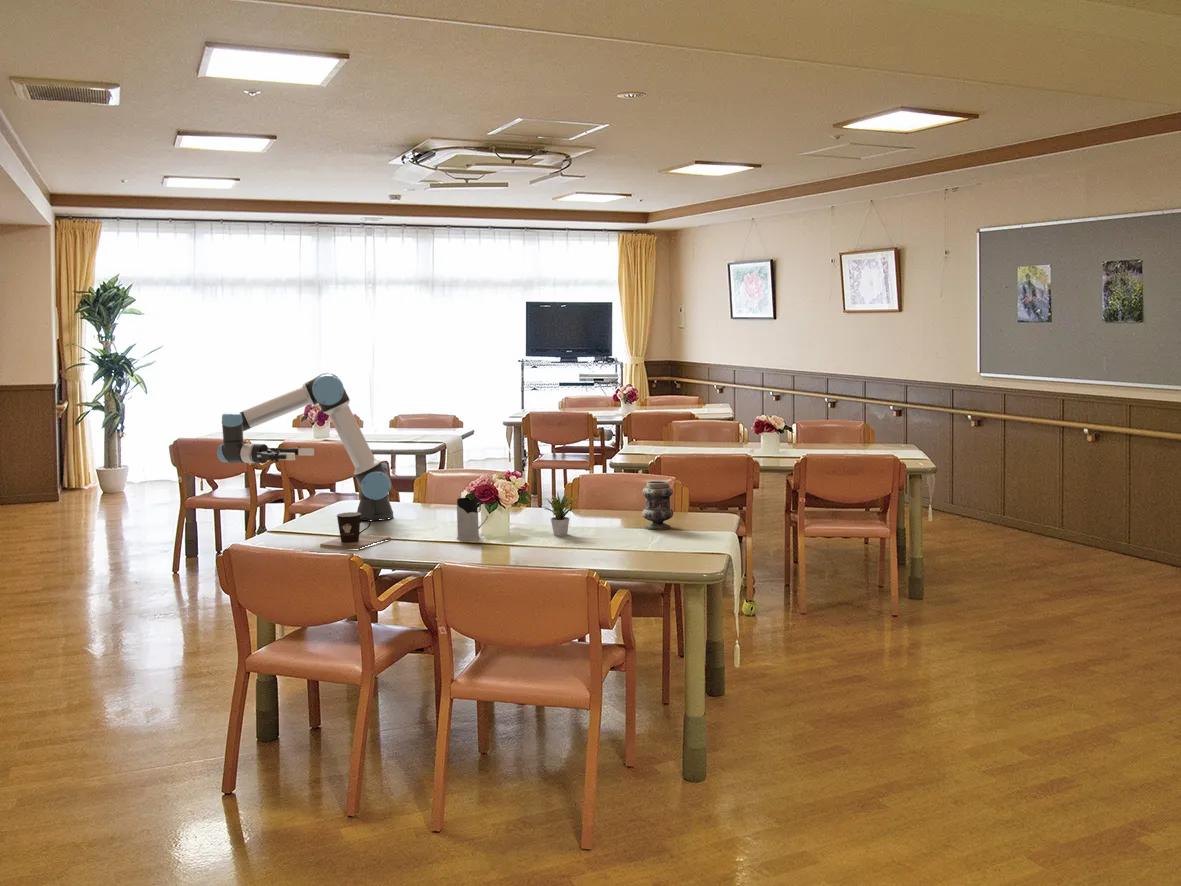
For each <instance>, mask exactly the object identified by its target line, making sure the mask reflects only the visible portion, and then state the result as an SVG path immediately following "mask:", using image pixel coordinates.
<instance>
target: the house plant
mask: <svg viewBox="0 0 1181 886" xmlns="http://www.w3.org/2000/svg"><path fill="white" fill-rule="evenodd" d="M551 497H552V498H550V500H551V501H550V500H549V499H548V498H546V500H547V501H548V503H549V504H550V505H551V507H552V509H550V508H547V507H545V508H544V510H545V511H546V510H547V511H550V512H552V514H553V517H551V518H550V522H551V527H552V528H551V529H552V532H553V535H554V536H556V537H562V536H563V537H564V536H567V535H568V531H569V525H570V517H568V516H567V514H569V512H572V513H573V514H575V513H574V510H575V509H574V506H572V507H570V508H569V506H570V505H572V504H576V503H577V501H574V500H575V499H577V498H578V496H576V497H573V498H569V497H570V494H568V495H567V492H565V494H564V495H563V497H562V498H560V495H559V492H556V497H555V496H554V495H553V494H551ZM573 501H574V502H573ZM576 507H578V506H576V505H575V508H576Z"/></svg>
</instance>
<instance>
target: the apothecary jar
mask: <svg viewBox="0 0 1181 886" xmlns="http://www.w3.org/2000/svg"><path fill="white" fill-rule="evenodd" d="M673 493H674V492H673V489H672V488H671V487H670V484H669V481H668V480H667V481H666V480H648V481H646V485H645V487H643V489H642V492H641V494H642V496H644V497H645V503H644V505H645V508H644V509H643V510H642V511H641V515H642V517H643V518H644V519H646V520H647V521H650V522H652V523H649V524H647V525H645V529H647V530H650V529H652V530H651V531H663V530H668V529H671V527H672V526H671V525H670V524H667V523H664V522H665V521H668V520H670V519H672V517H673V516H674V511H673V509H672V508H671V496H673Z"/></svg>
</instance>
